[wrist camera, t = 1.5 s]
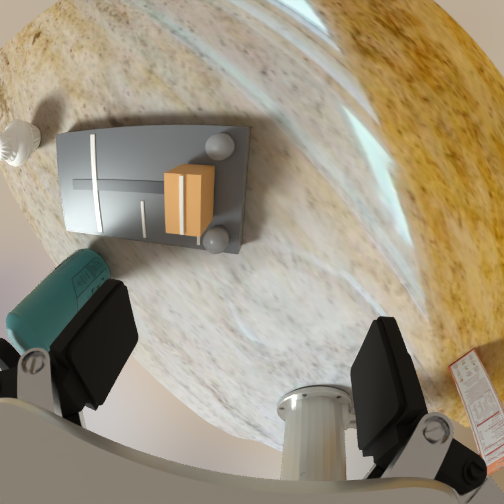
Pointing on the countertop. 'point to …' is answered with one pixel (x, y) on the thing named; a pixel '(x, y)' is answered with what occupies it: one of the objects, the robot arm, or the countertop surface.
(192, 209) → the fader tab
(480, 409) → the cracker box
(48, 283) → the beverage bottle
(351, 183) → the countertop surface
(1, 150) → the muffin
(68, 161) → the console board
